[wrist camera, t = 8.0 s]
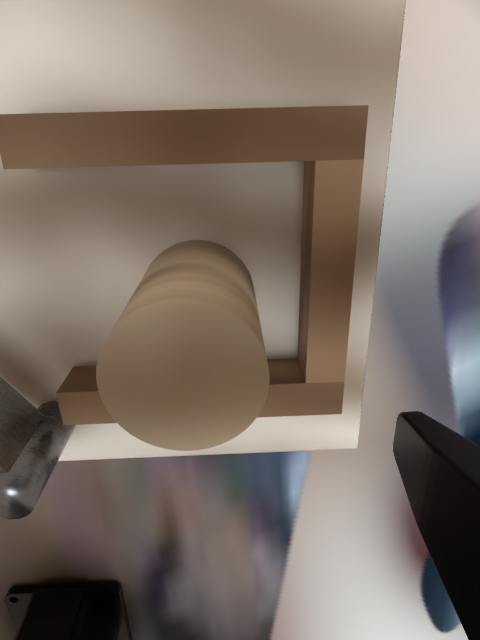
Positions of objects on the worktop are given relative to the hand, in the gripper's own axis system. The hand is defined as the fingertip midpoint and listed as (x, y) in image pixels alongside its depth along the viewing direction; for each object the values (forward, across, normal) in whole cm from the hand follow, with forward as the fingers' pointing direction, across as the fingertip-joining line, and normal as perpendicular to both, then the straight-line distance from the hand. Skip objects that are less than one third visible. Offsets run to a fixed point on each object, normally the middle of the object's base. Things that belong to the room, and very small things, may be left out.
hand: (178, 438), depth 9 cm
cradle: (+10, +2, -3) cm, 10 cm away
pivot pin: (+9, 0, 0) cm, 9 cm away
